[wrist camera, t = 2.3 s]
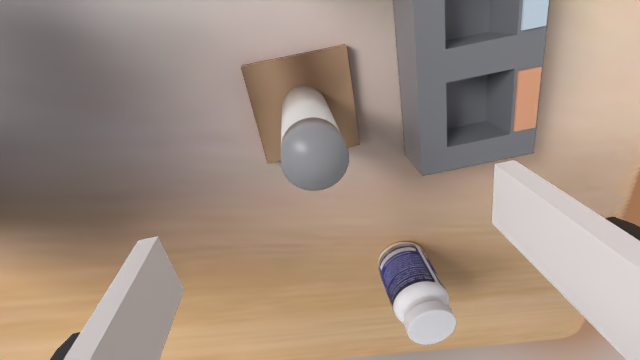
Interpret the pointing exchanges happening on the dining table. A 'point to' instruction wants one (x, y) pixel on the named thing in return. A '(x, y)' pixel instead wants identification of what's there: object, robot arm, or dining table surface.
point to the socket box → (469, 79)
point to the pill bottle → (416, 293)
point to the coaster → (301, 70)
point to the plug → (311, 141)
